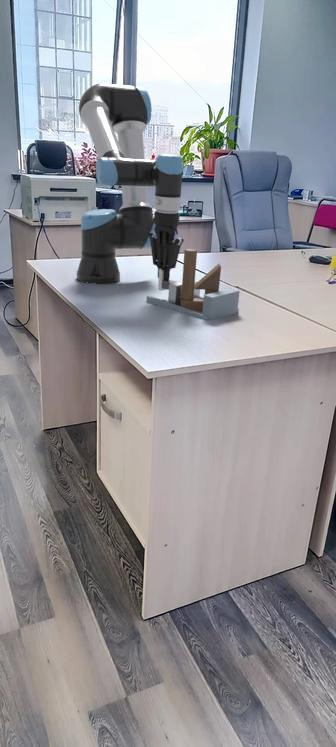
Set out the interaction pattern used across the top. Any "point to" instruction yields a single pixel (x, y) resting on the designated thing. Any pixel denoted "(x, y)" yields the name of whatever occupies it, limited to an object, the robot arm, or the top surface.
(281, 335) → the top surface
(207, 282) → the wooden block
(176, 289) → the sliding jaw
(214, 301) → the vise base
